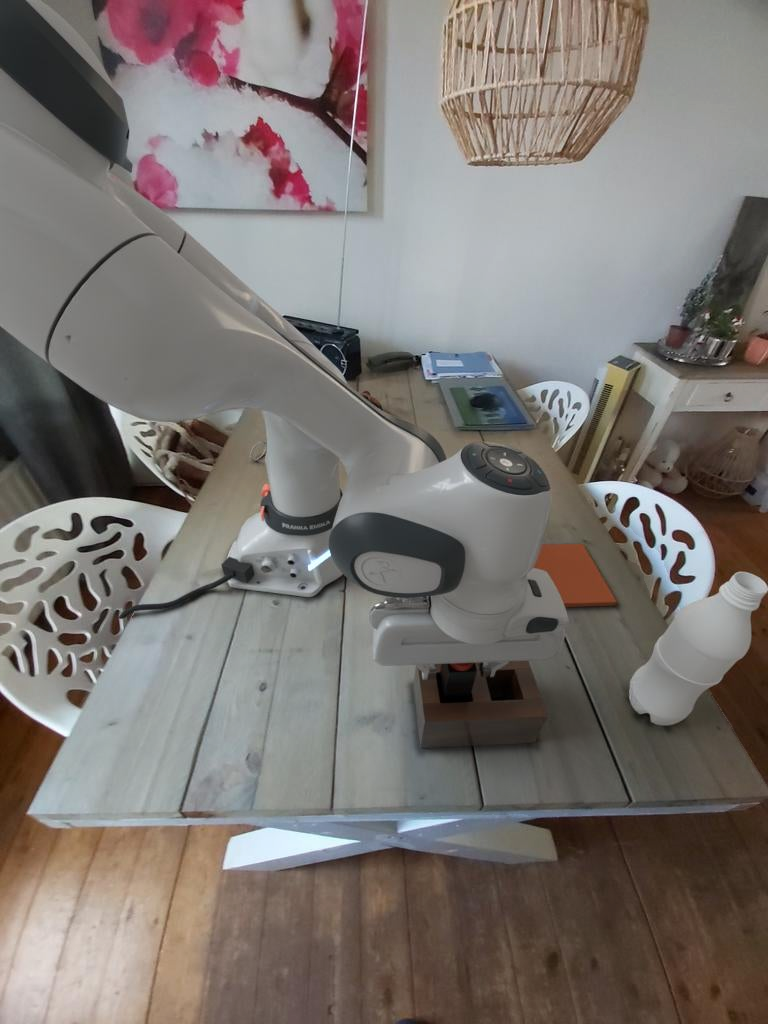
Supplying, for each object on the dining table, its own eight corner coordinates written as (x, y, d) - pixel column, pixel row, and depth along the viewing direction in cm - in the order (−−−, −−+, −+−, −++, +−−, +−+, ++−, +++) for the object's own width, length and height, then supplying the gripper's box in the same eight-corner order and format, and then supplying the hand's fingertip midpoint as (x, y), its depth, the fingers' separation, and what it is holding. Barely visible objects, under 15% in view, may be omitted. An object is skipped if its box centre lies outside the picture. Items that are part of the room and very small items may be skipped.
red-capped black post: (437, 726, 57) (450, 667, 48) (434, 702, 60) (445, 642, 51) (461, 725, 57) (478, 666, 49) (457, 701, 60) (472, 641, 51)
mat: (533, 608, 73) (534, 604, 72) (509, 549, 84) (510, 545, 83) (615, 605, 73) (617, 601, 73) (581, 547, 84) (583, 543, 84)
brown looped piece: (388, 427, 121) (376, 406, 114) (358, 439, 123) (344, 420, 117) (384, 398, 128) (371, 377, 121) (355, 411, 130) (341, 391, 124)
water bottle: (656, 741, 56) (768, 621, 41) (611, 694, 61) (694, 570, 45) (692, 716, 59) (809, 594, 43) (645, 672, 64) (735, 549, 48)
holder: (534, 743, 56) (548, 716, 52) (420, 748, 55) (424, 722, 51) (515, 681, 62) (526, 653, 58) (413, 685, 62) (416, 657, 57)
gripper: (370, 627, 40) (370, 702, 49) (586, 620, 42) (548, 694, 50) (368, 576, 45) (368, 652, 54) (562, 571, 46) (531, 646, 55)
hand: (456, 672), depth 52 cm, fingers open, 5 cm apart
